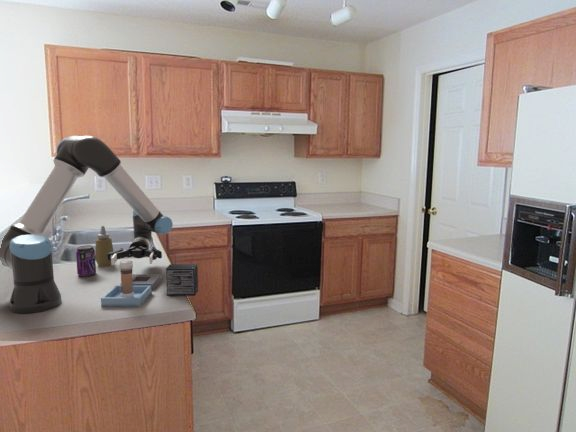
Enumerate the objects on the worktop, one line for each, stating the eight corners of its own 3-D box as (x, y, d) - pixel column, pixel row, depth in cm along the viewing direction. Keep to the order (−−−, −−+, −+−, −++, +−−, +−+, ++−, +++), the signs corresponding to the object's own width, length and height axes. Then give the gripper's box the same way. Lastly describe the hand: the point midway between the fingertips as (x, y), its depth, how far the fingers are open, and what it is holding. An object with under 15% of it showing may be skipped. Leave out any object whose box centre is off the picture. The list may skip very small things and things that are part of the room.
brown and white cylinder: (119, 299, 147) (117, 263, 145) (123, 295, 152) (122, 260, 149) (131, 299, 148) (130, 263, 145) (135, 295, 152) (134, 260, 150)
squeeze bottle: (91, 266, 189) (88, 227, 186) (104, 262, 197) (102, 224, 194) (106, 268, 186) (103, 228, 183) (118, 263, 194) (116, 225, 191)
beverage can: (87, 278, 173) (85, 249, 171) (73, 276, 175) (71, 248, 173) (100, 273, 180) (98, 245, 178) (86, 271, 182) (84, 244, 180)
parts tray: (101, 306, 143) (100, 298, 143) (115, 293, 156) (115, 285, 155) (140, 306, 143) (139, 298, 143) (151, 293, 156) (151, 285, 156)
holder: (120, 290, 159) (120, 284, 159) (131, 280, 171) (131, 274, 171) (152, 290, 160) (152, 284, 159) (161, 280, 171) (161, 274, 171)
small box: (198, 290, 160) (198, 263, 159) (195, 296, 154) (195, 268, 152) (170, 290, 160) (169, 263, 158) (166, 296, 154) (165, 268, 152)
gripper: (170, 255, 182) (166, 269, 161) (108, 257, 177) (96, 272, 156) (170, 238, 180) (165, 250, 160) (108, 239, 176) (95, 252, 155)
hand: (131, 261), depth 158 cm, fingers open, 13 cm apart
